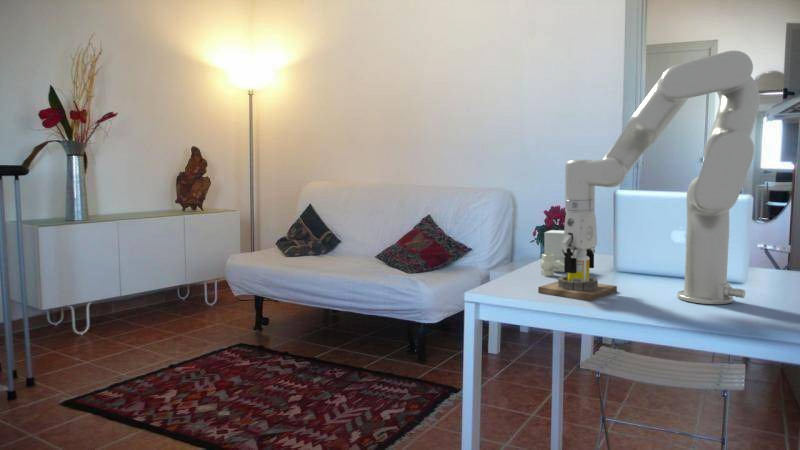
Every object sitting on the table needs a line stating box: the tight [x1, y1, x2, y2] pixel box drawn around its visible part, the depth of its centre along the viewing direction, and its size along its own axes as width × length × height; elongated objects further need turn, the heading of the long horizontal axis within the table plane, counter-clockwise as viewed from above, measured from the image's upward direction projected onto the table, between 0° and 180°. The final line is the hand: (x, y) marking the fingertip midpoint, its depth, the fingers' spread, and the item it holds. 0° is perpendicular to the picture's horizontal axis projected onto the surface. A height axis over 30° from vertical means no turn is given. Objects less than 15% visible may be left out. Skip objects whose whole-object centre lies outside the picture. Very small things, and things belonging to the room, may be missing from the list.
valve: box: [540, 253, 564, 277], centre depth 188 cm, size 7×7×12 cm
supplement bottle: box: [567, 249, 590, 282], centre depth 164 cm, size 6×6×10 cm
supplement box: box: [543, 229, 566, 273], centre depth 198 cm, size 7×7×13 cm
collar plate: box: [537, 275, 618, 302], centre depth 164 cm, size 15×15×4 cm
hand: (579, 270), depth 164 cm, fingers open, 9 cm apart
